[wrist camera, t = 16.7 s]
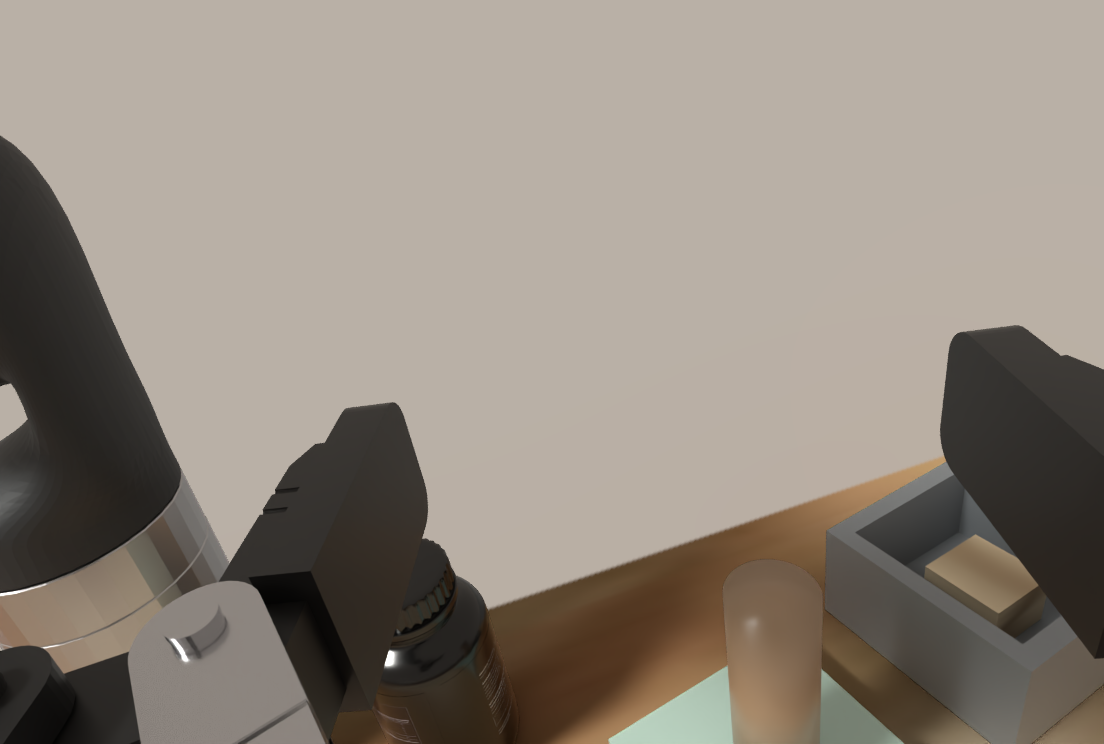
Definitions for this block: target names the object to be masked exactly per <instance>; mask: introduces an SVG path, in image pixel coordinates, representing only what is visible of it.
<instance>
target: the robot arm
mask: <svg viewBox="0 0 1104 744" xmlns="http://www.w3.org/2000/svg"><path fill="white" fill-rule="evenodd" d="M10 383H11V384H12V385H13V387H14V388H15V390H16V392H17V394H18V396H19V398H20V400H21V403H22V405H23V407H24V410H25V413H26V415H27V418H28V420H27V421H26V422H25V423H24V424H23V425H22V426H20V428H18V429H17V430H16V431H14V432H13V433H11V434H10V435H9V436H7V437H6V438H4V439H3V440H1V441H0V647H1V649H2V651H0V744H334V743H333V740H332V738H331V733H332V730H333V727H334V725H335V722H336V719H337V716H338V713H339V712H350V711H364V710H372V707H373V704H374V700H375V697H376V693H377V690H378V687H379V683H380V680H381V676H382V673H383V670H384V666H385V663H386V659H387V656H388V653H389V649H390V646H391V642H392V639H393V636H394V632H395V629H396V625H397V622H398V619H399V615H400V612H401V608H402V605H403V602H404V598H405V595H406V591H407V588H408V585H409V581H410V578H411V574H412V571H413V568H414V564H415V561H416V557H417V554H418V551H419V547H420V544H421V540H422V537H423V534H424V530H425V527H426V522H427V515H428V502H427V492H426V487H425V483H424V479H423V476H422V473H421V470H420V467H419V463H418V460H417V457H416V454H415V451H414V447H413V444H412V441H411V438H410V435H409V432H408V429H407V425H406V422H405V419H404V416H403V413H402V411H401V409H400V407H399V406H398V405H397V404H396V403H393V402H392V403H385V404H376V405H368V406H360V407H352V408H346V409H345V410H344V411H343V412H342V414H341V415H340V417H339V419H338V421H337V422H336V424H335V426H334V428H333V429H332V431H331V433H330V435H329V436H328V438H327V440H326V442H325V443H320V444H315V445H314V446H313V447H311V448H310V449H309V450H308V451H307V452H305V453H304V454H303V455H302V456H301V457H300V458H298V459H297V460H296V461H295V462H294V463H293V464H291V465H290V467H289V468H288V470H287V472H286V473H285V474H284V476H283V478H282V480H281V481H280V483H279V484H278V486H277V488H276V489H275V494H274V495H272V496H271V497H270V499H269V500H268V502H267V504H266V505H265V507H264V509H263V515H259V517H258V518H257V520H256V522H255V523H254V525H253V527H252V528H251V530H250V531H249V533H248V535H247V536H246V538H245V539H244V541H243V543H242V544H241V546H240V548H239V549H238V551H237V553H236V554H235V556H234V557H233V559H232V561H231V562H230V563H229V561H228V559H227V557H226V555H225V553H224V551H223V549H222V547H221V545H220V543H219V541H218V539H217V538H216V536H215V534H214V532H213V530H212V528H211V526H210V524H209V522H208V520H207V518H206V516H205V515H204V513H203V511H202V509H201V507H200V505H199V503H198V501H197V499H196V497H195V495H194V493H193V491H192V489H191V487H190V485H189V483H188V481H187V479H186V477H185V475H184V473H183V471H182V469H181V468H180V466H179V464H178V462H177V460H176V458H175V456H174V454H173V452H172V450H171V448H170V446H169V444H168V442H167V440H166V437H165V435H164V433H163V430H162V428H161V426H160V423H159V421H158V419H157V416H156V414H155V411H154V409H153V407H152V404H151V402H150V400H149V398H148V395H147V393H146V391H145V389H144V387H143V385H142V383H141V381H140V378H139V377H138V374H137V373H136V371H135V368H134V367H133V364H132V362H131V360H130V359H129V356H128V354H127V352H126V350H125V347H124V345H123V343H122V341H121V338H120V336H119V334H118V332H117V329H116V327H115V325H114V323H113V321H112V319H111V316H110V314H109V311H108V309H107V306H106V304H105V302H104V299H103V297H102V294H101V292H100V290H99V287H98V285H97V282H96V280H95V278H94V275H93V273H92V271H91V268H90V266H89V264H88V261H87V259H86V256H85V254H84V251H83V249H82V247H81V245H80V243H79V241H78V239H77V236H76V234H75V232H74V230H73V228H72V226H71V224H70V221H69V219H68V217H67V216H66V214H65V212H64V210H63V208H62V207H61V205H60V203H59V201H58V200H57V198H56V196H55V194H54V193H53V191H52V189H51V188H50V186H49V184H48V183H47V182H46V180H45V179H44V178H43V176H42V175H41V174H40V172H39V171H38V170H37V168H36V167H35V166H34V165H33V163H32V162H31V161H30V160H29V159H28V158H27V157H26V156H25V155H24V154H23V153H22V152H21V151H20V150H19V149H18V148H17V147H15V146H14V145H13V144H12V143H10V142H9V141H7V140H6V139H4V138H3V137H1V136H0V386H2V385H5V384H10ZM940 436H941V444H942V449H943V453H944V456H945V459H946V461H947V464H948V466H949V468H950V469H951V471H952V472H953V474H954V475H955V476H956V478H957V479H958V480H959V482H960V483H961V484H962V486H963V487H964V488H965V489H966V491H967V492H968V493H969V495H970V496H971V497H972V499H973V500H974V501H975V503H976V504H977V505H978V507H979V508H980V509H981V510H982V512H983V513H984V514H985V516H986V517H987V518H988V520H989V521H990V522H991V524H992V525H993V526H994V528H995V529H996V530H997V531H998V533H999V534H1000V535H1001V537H1002V538H1003V539H1004V541H1005V542H1006V543H1007V545H1008V546H1009V547H1010V549H1011V550H1012V551H1013V552H1014V554H1015V555H1016V556H1017V558H1018V559H1019V560H1020V562H1021V563H1022V564H1023V566H1024V567H1025V568H1026V570H1027V571H1028V572H1029V573H1030V575H1031V576H1032V577H1033V579H1034V580H1035V581H1036V583H1037V584H1038V585H1039V587H1040V588H1041V589H1042V591H1043V592H1044V593H1045V595H1046V596H1047V597H1048V598H1049V600H1050V601H1051V602H1052V604H1053V605H1054V606H1055V608H1056V609H1057V610H1058V612H1059V613H1060V614H1061V616H1062V617H1063V618H1064V619H1065V621H1066V622H1067V623H1068V625H1069V626H1070V627H1071V629H1072V630H1073V631H1074V633H1075V634H1076V635H1077V637H1078V638H1079V639H1080V640H1081V642H1082V643H1083V644H1084V646H1085V647H1086V648H1087V650H1088V651H1089V652H1090V654H1091V655H1092V656H1093V658H1094V659H1101V658H1104V370H1103V369H1101V368H1099V367H1096V366H1093V365H1091V364H1088V363H1086V362H1083V361H1080V360H1078V359H1076V358H1073V357H1071V356H1068V355H1064V356H1060V355H1059V354H1058V353H1057V352H1055V351H1054V350H1053V349H1051V348H1050V347H1049V346H1047V345H1046V344H1045V343H1044V342H1042V341H1041V340H1040V339H1038V338H1037V337H1036V336H1034V335H1033V334H1032V333H1030V332H1029V331H1028V330H1027V329H1025V328H1024V327H1022V326H1016V325H1014V326H1007V327H1000V328H991V329H983V330H975V331H967V332H960V333H957V334H956V335H955V336H954V337H953V339H952V341H951V344H950V347H949V354H948V363H947V372H946V381H945V390H944V399H943V408H942V417H941V426H940Z"/></svg>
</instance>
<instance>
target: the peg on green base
mask: <svg viewBox="0 0 1104 744" xmlns="http://www.w3.org/2000/svg"><path fill="white" fill-rule="evenodd" d="M723 606H724V621H725V635H726V649H727V664H728V666H726V667H724V668H723V669H721V670H720V671H718V672H716V673H715V674H713V675H711V676H710V677H708V678H707V679H705V680H703V681H702V682H700V683H699V684H697V685H695V686H694V687H692V688H690V689H689V690H687V691H686V692H684V693H682V694H681V695H679V696H678V697H676V698H674V699H673V700H671V701H669V702H668V703H666V704H665V705H663V706H661V707H660V708H658V709H657V710H655V711H653V712H652V713H650V714H648V715H647V716H645V717H644V718H642V719H640V720H639V721H637V722H636V723H634V724H632V725H631V726H629V727H627V728H626V729H624V730H623V731H621V732H619V733H618V734H616V735H615V736H613V737H611V738H610V739H608V741H609V744H904V743H903V742H902V741H901V740H900V739H898V738H897V737H896V736H895V735H894V734H893V733H892V732H891V731H890V730H888V729H887V728H886V727H885V726H884V725H883V724H882V723H881V722H880V721H879V720H877V719H876V718H875V717H874V716H873V715H872V714H871V713H870V712H869V711H867V710H866V709H865V708H864V707H863V706H862V705H861V704H860V703H859V702H858V701H856V700H855V699H854V698H853V697H852V696H851V695H850V694H849V693H848V692H846V691H845V690H844V689H843V688H842V687H841V686H840V685H839V684H838V683H837V682H835V681H834V680H833V679H832V678H831V677H830V676H829V675H828V674H827V673H825V672H824V671H823V670H822V625H823V594H822V591H821V588H820V586H819V584H818V583H817V581H816V580H815V579H814V578H813V576H812V575H810V574H809V573H808V572H807V571H805V570H804V569H802V568H800V567H799V566H797V565H794V564H792V563H789V562H786V561H781V560H775V559H760V560H754V561H750V562H747V563H744V564H742V565H740V566H738V567H737V568H735V569H734V570H733V571H732V572H731V573H730V574H729V575H728V576H727V578H726V580H725V582H724V585H723Z"/></svg>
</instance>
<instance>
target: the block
mask: <svg viewBox="0 0 1104 744" xmlns="http://www.w3.org/2000/svg"><path fill="white" fill-rule="evenodd" d="M924 579H926V580H927V581H929V582H930V583H932V584H933V585H935V586H936V587H938V588H939V589H941V590H942V591H944V592H945V593H947V594H948V595H950V596H951V597H953V598H954V599H956V600H957V601H959V602H960V603H962V604H963V605H965V606H966V607H968V608H969V609H971V610H972V611H974V612H975V613H977V614H978V615H980V616H981V617H983V618H984V619H986V620H987V621H989V622H990V623H992V624H993V625H995V626H996V627H998V628H999V629H1001V630H1002V631H1004V632H1005V633H1007V634H1008V635H1010V636H1011V637H1013V638H1016V637H1017V636H1018V635H1020V634H1021V633H1022V632H1024V631H1025V630H1026V629H1028V628H1029V627H1031V626H1032V625H1033V624H1035V623H1036V622H1037V621H1039V620H1040V619H1041V617H1042V612H1043V608H1044V604H1045V599H1046V595H1045V593H1044V592H1043V591H1042V589H1041V588H1040V587H1039V585H1038V584H1037V583H1036V581H1035V580H1034V579H1033V577H1032V576H1031V575H1030V573H1029V572H1028V571H1027V570H1026V568H1025V567H1024V566H1023V564H1022V563H1021V562H1020V560H1019V559H1018V558H1016V557H1015V556H1013V555H1011V554H1009V553H1007V552H1006V551H1004V550H1002V549H1000V548H999V547H997V546H995V545H993V544H992V543H990V542H988V541H986V540H985V539H983V538H981V537H979V536H978V535H976V534H975V535H974V536H972V537H971V538H969V539H967V540H966V541H964V542H963V543H961V544H960V545H958V546H957V547H955V548H953V549H952V550H950V551H949V552H947V553H946V554H944V555H942V556H941V557H939V558H938V559H936V560H935V561H933V562H931V563H930V564H928V565H927V566H925V575H924Z"/></svg>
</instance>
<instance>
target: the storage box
mask: <svg viewBox="0 0 1104 744" xmlns="http://www.w3.org/2000/svg"><path fill="white" fill-rule="evenodd" d="M975 534H976V535H978V536H979V537H981V538H983V539H985V540H986V541H988V542H990V543H992V544H993V545H995V546H997V547H999V548H1000V549H1002V550H1004V551H1006V552H1007V553H1009V554H1011V555H1013V556H1015V557H1016V558H1017V556H1016V555H1015V554H1014V552H1013V551H1012V550H1011V549H1010V547H1009V546H1008V545H1007V543H1006V542H1005V541H1004V539H1003V538H1002V537H1001V535H1000V534H999V533H998V531H997V530H996V529H995V528H994V526H993V525H992V524H991V522H990V521H989V520H988V518H987V517H986V516H985V514H984V513H983V512H982V510H981V509H980V508H979V507H978V505H977V504H976V503H975V501H974V500H973V499H972V497H971V496H970V495H969V493H968V492H967V491H966V489H965V488H964V487H963V486H962V484H961V483H960V482H959V480H958V479H957V478H956V476H955V475H954V474H953V472H952V471H951V469H950V468H949V466H948V464H947V462H945V463H943V464H942V465H940V466H938V467H936V468H935V469H933V470H931V471H929V472H928V473H926V474H924V475H922V476H921V477H919V478H917V479H915V480H914V481H912V482H910V483H908V484H907V485H905V486H903V487H901V488H900V489H898V490H896V491H894V492H893V493H891V494H889V495H887V496H886V497H884V498H882V499H880V500H879V501H877V502H875V503H874V504H872V505H870V506H868V507H867V508H865V509H863V510H861V511H860V512H858V513H856V514H854V515H853V516H851V517H849V518H847V519H846V520H844V521H842V522H840V523H839V524H837V525H835V526H833V527H832V528H830V529H828V530H827V532H826V576H825V610H827V611H828V612H829V613H830V614H832V615H833V616H834V617H835V618H836V619H838V620H839V621H840V622H841V623H843V624H844V625H845V626H846V627H848V628H849V629H850V630H851V631H853V632H854V633H855V634H856V635H858V636H859V637H860V638H861V639H862V640H864V641H865V642H866V643H867V644H869V645H870V646H871V647H872V648H874V649H875V650H876V651H877V652H879V653H880V654H881V655H882V656H883V657H885V658H886V659H887V660H888V661H890V662H891V663H892V664H893V665H895V666H896V667H897V668H898V669H900V670H901V671H902V672H903V673H905V674H906V675H907V676H908V677H909V678H911V679H912V680H913V681H914V682H916V683H917V684H918V685H919V686H921V687H922V688H923V689H924V690H926V691H927V692H928V693H929V694H931V695H932V696H933V697H934V698H935V699H937V700H938V701H939V702H940V703H942V704H943V705H944V706H945V707H947V708H948V709H949V710H950V711H952V712H953V713H954V714H955V715H956V716H958V717H959V718H960V719H961V720H963V721H964V722H965V723H966V724H968V725H969V726H970V727H971V728H973V729H974V730H975V731H976V732H978V733H979V734H980V735H981V736H982V737H984V738H985V739H986V740H987V741H989V742H990V743H991V744H1032V743H1033V742H1034V741H1035V740H1036V739H1038V738H1039V737H1040V736H1041V735H1043V734H1044V733H1045V732H1046V731H1047V730H1049V729H1050V728H1051V727H1052V726H1053V725H1055V724H1056V723H1057V722H1058V721H1060V720H1061V719H1062V718H1063V717H1064V716H1066V715H1067V714H1068V713H1069V712H1070V711H1072V710H1073V709H1074V708H1075V707H1077V706H1078V705H1079V704H1080V703H1081V702H1083V701H1084V700H1085V699H1086V698H1087V697H1089V696H1090V695H1091V694H1092V693H1094V692H1095V691H1096V690H1097V689H1098V688H1100V687H1101V686H1102V685H1103V684H1104V658H1101V659H1094V658H1093V656H1092V655H1091V654H1090V652H1089V651H1088V650H1087V648H1086V647H1085V646H1084V644H1083V643H1082V642H1081V640H1080V639H1079V638H1078V637H1077V635H1076V634H1075V633H1074V631H1073V630H1072V629H1071V627H1070V626H1069V625H1068V623H1067V622H1066V621H1065V619H1064V618H1063V617H1062V616H1061V614H1060V613H1059V612H1058V610H1057V609H1056V608H1055V606H1054V605H1053V604H1052V602H1051V601H1050V600H1049V598H1048V597H1047V596H1046V599H1045V604H1044V608H1043V612H1042V617H1041V619H1040V620H1039V621H1037V622H1036V623H1035V624H1033V625H1032V626H1031V627H1029V628H1028V629H1026V630H1025V631H1024V632H1022V633H1021V634H1020V635H1018V636H1017V637H1016V638H1013V637H1011V636H1010V635H1008V634H1007V633H1005V632H1004V631H1002V630H1001V629H999V628H998V627H996V626H995V625H993V624H992V623H990V622H989V621H987V620H986V619H984V618H983V617H981V616H980V615H978V614H977V613H975V612H974V611H972V610H971V609H969V608H968V607H966V606H965V605H963V604H962V603H960V602H959V601H957V600H956V599H954V598H953V597H951V596H950V595H948V594H947V593H945V592H944V591H942V590H941V589H939V588H938V587H936V586H935V585H933V584H932V583H930V582H929V581H927V580H926V579H924V575H925V566H927V565H928V564H930V563H931V562H933V561H935V560H936V559H938V558H939V557H941V556H942V555H944V554H946V553H947V552H949V551H950V550H952V549H953V548H955V547H957V546H958V545H960V544H961V543H963V542H964V541H966V540H967V539H969V538H971V537H972V536H974V535H975Z"/></svg>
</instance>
